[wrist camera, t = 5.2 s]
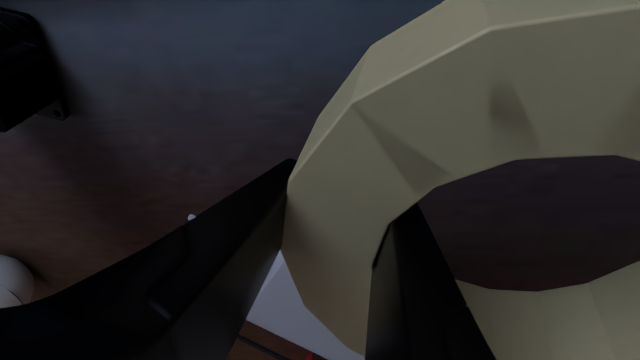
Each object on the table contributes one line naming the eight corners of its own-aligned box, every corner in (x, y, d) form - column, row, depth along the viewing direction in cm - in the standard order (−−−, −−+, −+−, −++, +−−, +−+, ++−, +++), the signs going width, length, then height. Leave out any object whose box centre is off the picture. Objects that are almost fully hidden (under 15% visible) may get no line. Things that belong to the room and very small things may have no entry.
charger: (220, 155, 24) (423, 264, 25) (190, 233, 30) (355, 317, 31) (182, 206, 20) (420, 329, 22) (156, 284, 26) (344, 375, 28)
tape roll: (291, 271, 14) (266, 337, 12) (357, -104, 7) (323, -90, 5) (602, 364, 13) (630, 451, 11) (1080, 52, 6) (1409, 149, 4)
